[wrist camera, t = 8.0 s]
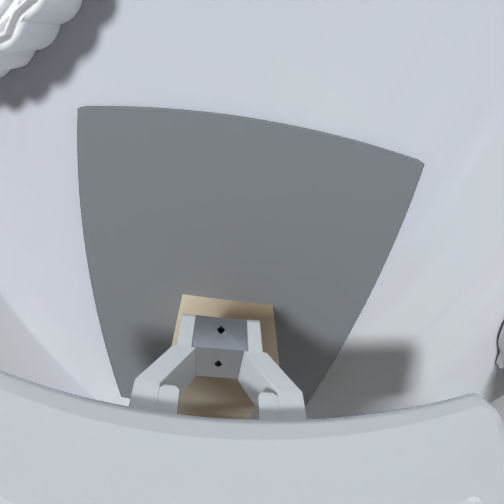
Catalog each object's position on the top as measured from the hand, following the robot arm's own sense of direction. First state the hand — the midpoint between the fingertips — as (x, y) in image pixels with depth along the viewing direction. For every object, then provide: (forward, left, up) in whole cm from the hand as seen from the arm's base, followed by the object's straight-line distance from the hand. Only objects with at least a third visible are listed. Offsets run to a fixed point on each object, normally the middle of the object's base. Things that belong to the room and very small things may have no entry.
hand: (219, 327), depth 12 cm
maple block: (0, +2, -2) cm, 3 cm away
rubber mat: (-1, +4, -5) cm, 7 cm away
